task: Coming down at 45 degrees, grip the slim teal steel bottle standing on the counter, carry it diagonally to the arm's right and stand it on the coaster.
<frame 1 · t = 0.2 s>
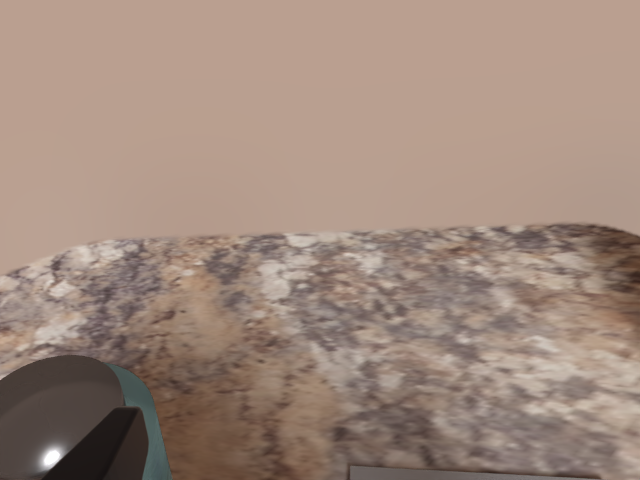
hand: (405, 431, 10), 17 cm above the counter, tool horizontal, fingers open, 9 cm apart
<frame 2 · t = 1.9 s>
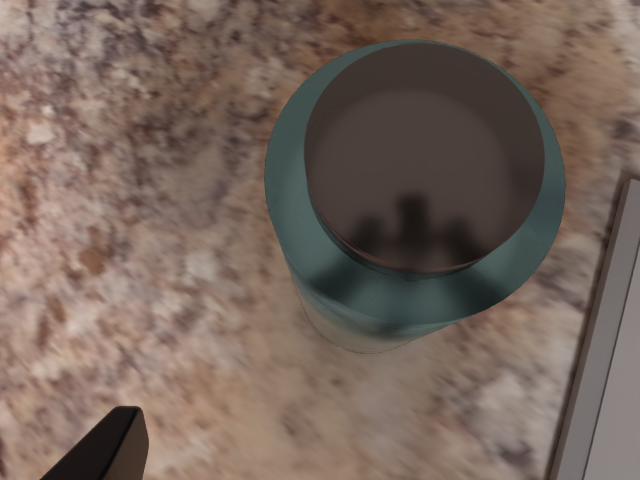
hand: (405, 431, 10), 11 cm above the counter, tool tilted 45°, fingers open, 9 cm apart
bottle: (367, 284, 21), on the counter
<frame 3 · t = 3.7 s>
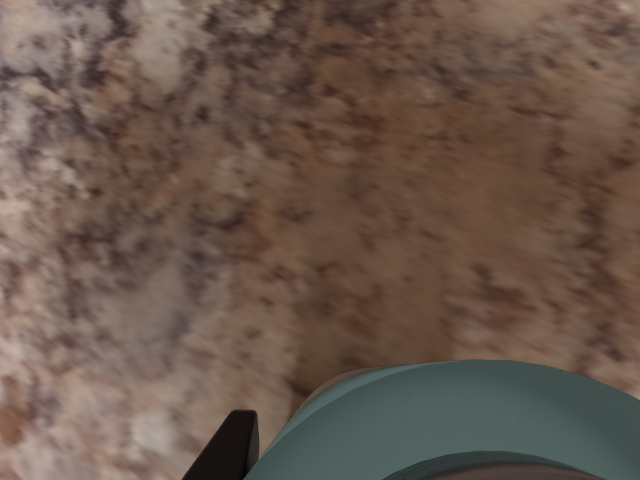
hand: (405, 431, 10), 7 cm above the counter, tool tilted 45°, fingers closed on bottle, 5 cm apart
bottle: (374, 460, 16), on the counter, touching gripper
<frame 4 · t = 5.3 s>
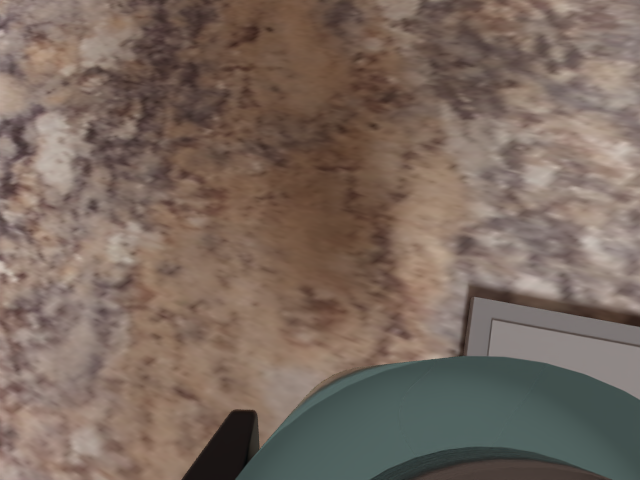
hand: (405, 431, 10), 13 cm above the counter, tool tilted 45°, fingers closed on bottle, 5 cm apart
bottle: (372, 459, 16), point 7 cm above the counter, touching gripper
when the fingers open (8 cm above the counter, at t = 7.2 s): bottle stays where it is, resting on coaster.
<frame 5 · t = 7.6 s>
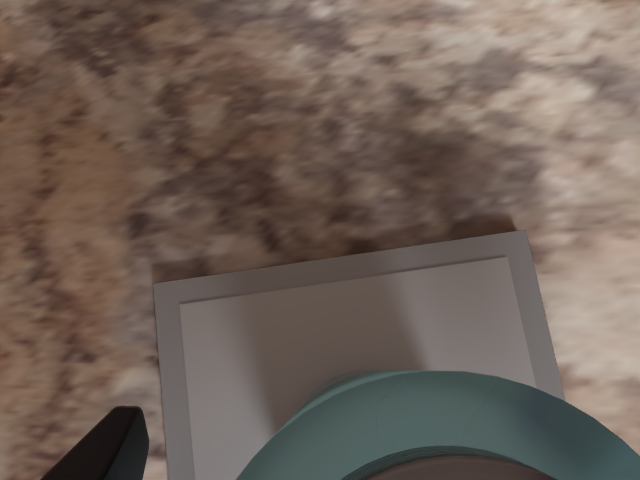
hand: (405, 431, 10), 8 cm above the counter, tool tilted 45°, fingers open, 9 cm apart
coaster: (369, 451, 18), on the counter
bottle: (371, 457, 17), point 1 cm above the counter, touching coaster
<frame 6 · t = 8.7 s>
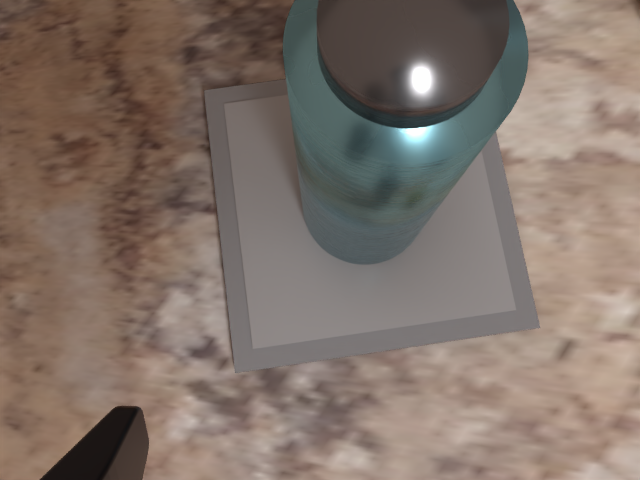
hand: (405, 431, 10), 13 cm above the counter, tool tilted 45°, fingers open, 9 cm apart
coaster: (362, 207, 24), on the counter
bottle: (363, 204, 23), point 1 cm above the counter, touching coaster
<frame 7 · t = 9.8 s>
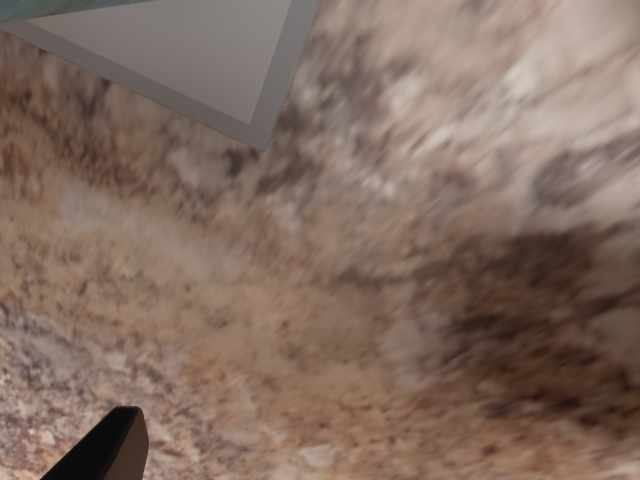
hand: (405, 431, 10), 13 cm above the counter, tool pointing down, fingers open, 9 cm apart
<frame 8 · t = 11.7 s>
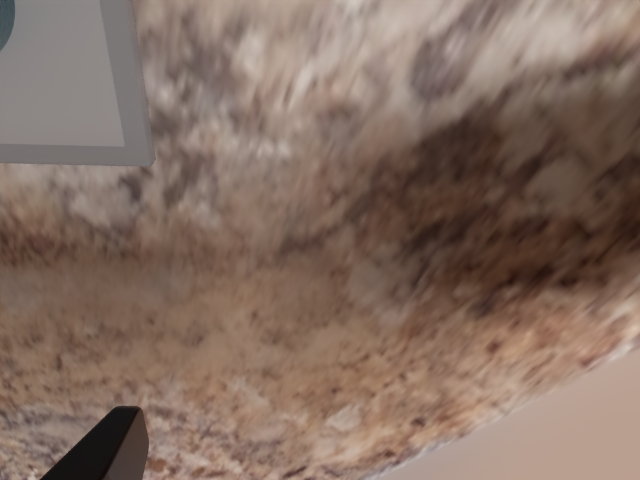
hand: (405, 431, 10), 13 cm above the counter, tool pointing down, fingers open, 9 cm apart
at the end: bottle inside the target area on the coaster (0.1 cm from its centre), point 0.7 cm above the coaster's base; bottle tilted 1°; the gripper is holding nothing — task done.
